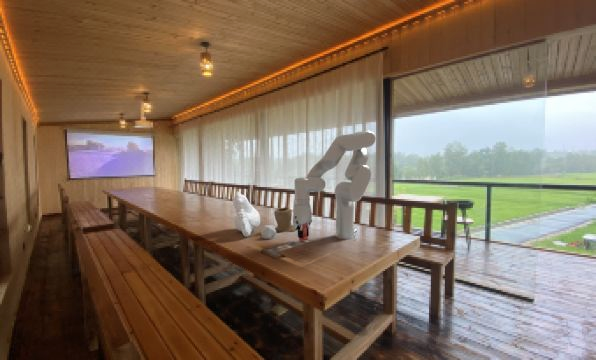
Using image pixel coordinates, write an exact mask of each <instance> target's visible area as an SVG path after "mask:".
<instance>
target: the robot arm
mask: <svg viewBox="0 0 596 360" xmlns="http://www.w3.org/2000/svg"><path fill="white" fill-rule="evenodd" d="M376 138H377V137H376V134H375V133H374V132H373V131H371V130H363V131H357V132H354V133H349V134H342V135H338V136H336V137H335V139H334V140H333V142H332V143H331V144H330V145H329V148H328V149H327V150H326V152H325V154H324V155H323V156H322V157H321V158H320V159H319V160H318V161H317V163H315V164H314V166H313V167H312V168H311V169H310V170H309V172H308V173H307V175H306V176H305V177H296V178H295V179H294V205H293V210H292V226H293V227H295V228H296V229H297V230H296V231H297V237H298V239H299V238H303V231H302V225H303V224H305V223H307V226H306V227H307V236H308V237H309V234H310V233H309V232H310V231H309V229H310V226H311V224H312V222H313V219H312V207H311V203H310V202H311V198H310V192H315V193H317V192H321V191H323V190H325V188H326V181H325V180H324V179H323V178H322V177H323V176H324V175H325V173H327V172H329V171H330V170H332V169H334V168H335V167H337V166H338V164H339V163H340V161H341V159H342V158H343V156H344V155H345V154H346V152H349V151H350V152H352V156H351V158H350V161H349V163H348V165H347V167H346V169H345V173H344V177H345V178H346V180H348V181H341V182H338V184H337V185H336V186H335V189H334V197H335V203H336V204H335V205H336V206H335V207H336V209H335V211H336V212H335V234H334V235H333V237H336V238H337V239H341V240H350V241H354V242H355V241H356V240H357V236H356V235H355V233H357V232H358V231H357V229H356V228H355V229H354V217H355V215H354V214H355V213H354V212H355V205H354V202H355V203H356V202H359V201H360V200H361V199H362V198H363V196H364V195H365V192H366V190H367V189H368V185H369V183H370V181H371V178H372V171H371V168H370V167H369V166H368V165H367V163H368V160H369V151H368V148H369V147H372V146H373V145H374V144H375V143H376ZM299 226H300V227H299Z"/></svg>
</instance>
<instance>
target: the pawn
mask: <svg viewBox="0 0 596 360" xmlns="http://www.w3.org/2000/svg"><path fill="white" fill-rule="evenodd" d="M306 226H307V223H305V224H303V225H302V231H303V238H299V237H298V240H306V241H308V240H309V236H307V227H306Z"/></svg>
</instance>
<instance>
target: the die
mask: <svg viewBox="0 0 596 360" xmlns="http://www.w3.org/2000/svg"><path fill="white" fill-rule="evenodd" d="M275 228H276V227H275V224H273V225H270V224H269V225H267V224H265V225H263V227H262V230H261V231H260V234H261V237H262V239H265V240H273V239H275V238H276V236H277V233H278V232H276V230H275Z"/></svg>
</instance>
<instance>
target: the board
mask: <svg viewBox="0 0 596 360" xmlns="http://www.w3.org/2000/svg"><path fill="white" fill-rule="evenodd" d="M309 242H310V241H308V240H299V239H298V240H294V241H292V242H289V243H286V244H282V245H279V246H277V247H273V248H270V249H268V248H261V249H260V252H261V253H262V252H263V254H265V255H268V256H271V257H273V258H276V259H280V258H283V257H285V254H284V255H283V254H281V253H280V252H282V251H285V250H288V249H291V248H293V247H297V246H299V245H303V244H306V243H309Z"/></svg>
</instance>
